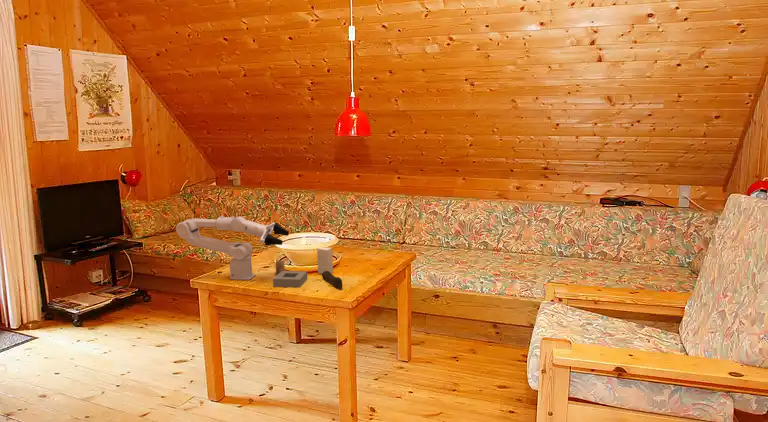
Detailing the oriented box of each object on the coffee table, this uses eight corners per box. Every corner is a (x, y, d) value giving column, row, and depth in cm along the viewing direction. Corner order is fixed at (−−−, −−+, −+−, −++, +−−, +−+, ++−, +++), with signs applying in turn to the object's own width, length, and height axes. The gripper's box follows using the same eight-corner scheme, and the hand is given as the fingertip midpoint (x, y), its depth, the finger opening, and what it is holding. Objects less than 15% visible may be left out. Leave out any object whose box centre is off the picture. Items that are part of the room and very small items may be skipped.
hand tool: (321, 279, 251) (321, 269, 250) (330, 278, 253) (329, 268, 252) (335, 291, 234) (335, 281, 233) (344, 290, 236) (344, 280, 235)
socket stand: (273, 286, 242) (272, 278, 241) (282, 278, 253) (281, 271, 253) (299, 287, 240) (299, 279, 239) (307, 279, 252) (307, 271, 251)
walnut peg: (275, 275, 259) (274, 262, 258) (277, 272, 263) (277, 260, 262) (283, 275, 258) (282, 262, 257) (285, 272, 262) (285, 260, 261)
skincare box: (333, 272, 261) (332, 248, 259) (328, 275, 257) (327, 250, 255) (323, 271, 264) (322, 246, 262) (317, 273, 260) (316, 248, 258)
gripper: (251, 231, 242) (280, 239, 241) (264, 214, 254) (292, 222, 253) (250, 243, 246) (278, 252, 245) (263, 226, 258) (290, 234, 257)
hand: (285, 238), depth 249 cm, fingers open, 7 cm apart
